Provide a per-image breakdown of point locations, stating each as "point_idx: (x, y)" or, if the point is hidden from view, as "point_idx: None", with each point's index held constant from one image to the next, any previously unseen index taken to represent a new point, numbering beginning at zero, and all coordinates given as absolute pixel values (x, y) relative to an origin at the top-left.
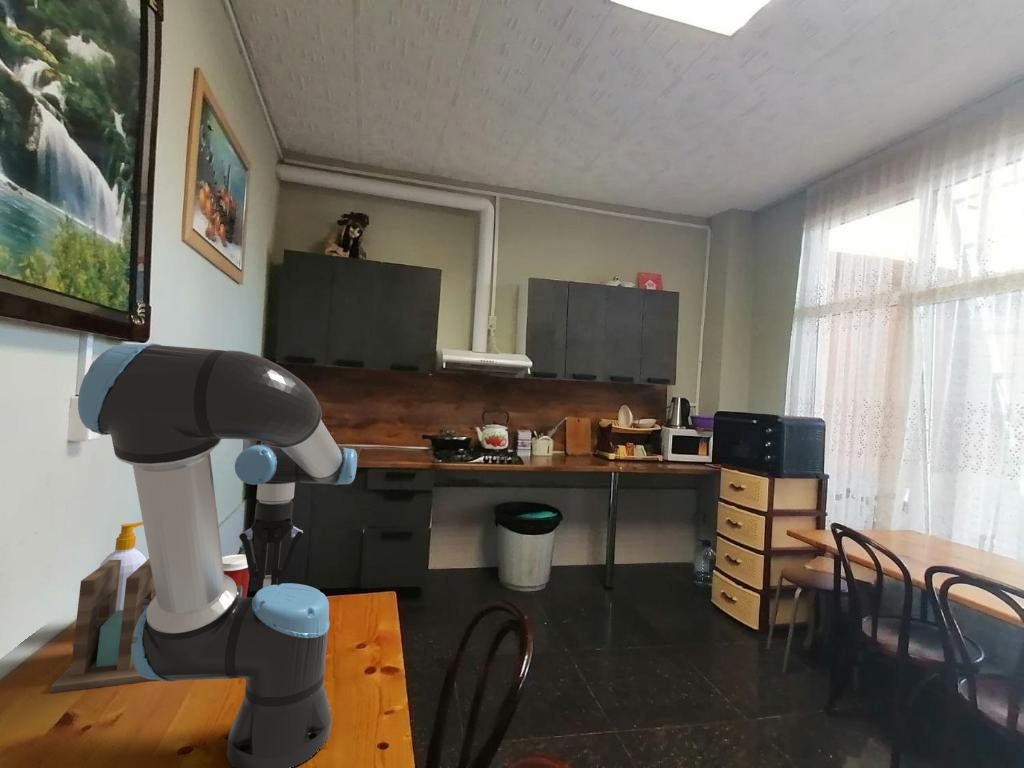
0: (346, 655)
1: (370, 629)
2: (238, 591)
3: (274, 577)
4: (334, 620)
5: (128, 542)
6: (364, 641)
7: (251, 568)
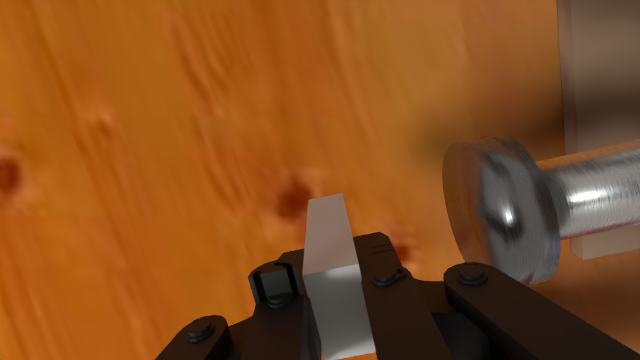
0: (30, 112)
1: (16, 280)
2: (500, 196)
3: (266, 269)
4: (157, 338)
5: None
6: (5, 203)
7: (514, 306)
